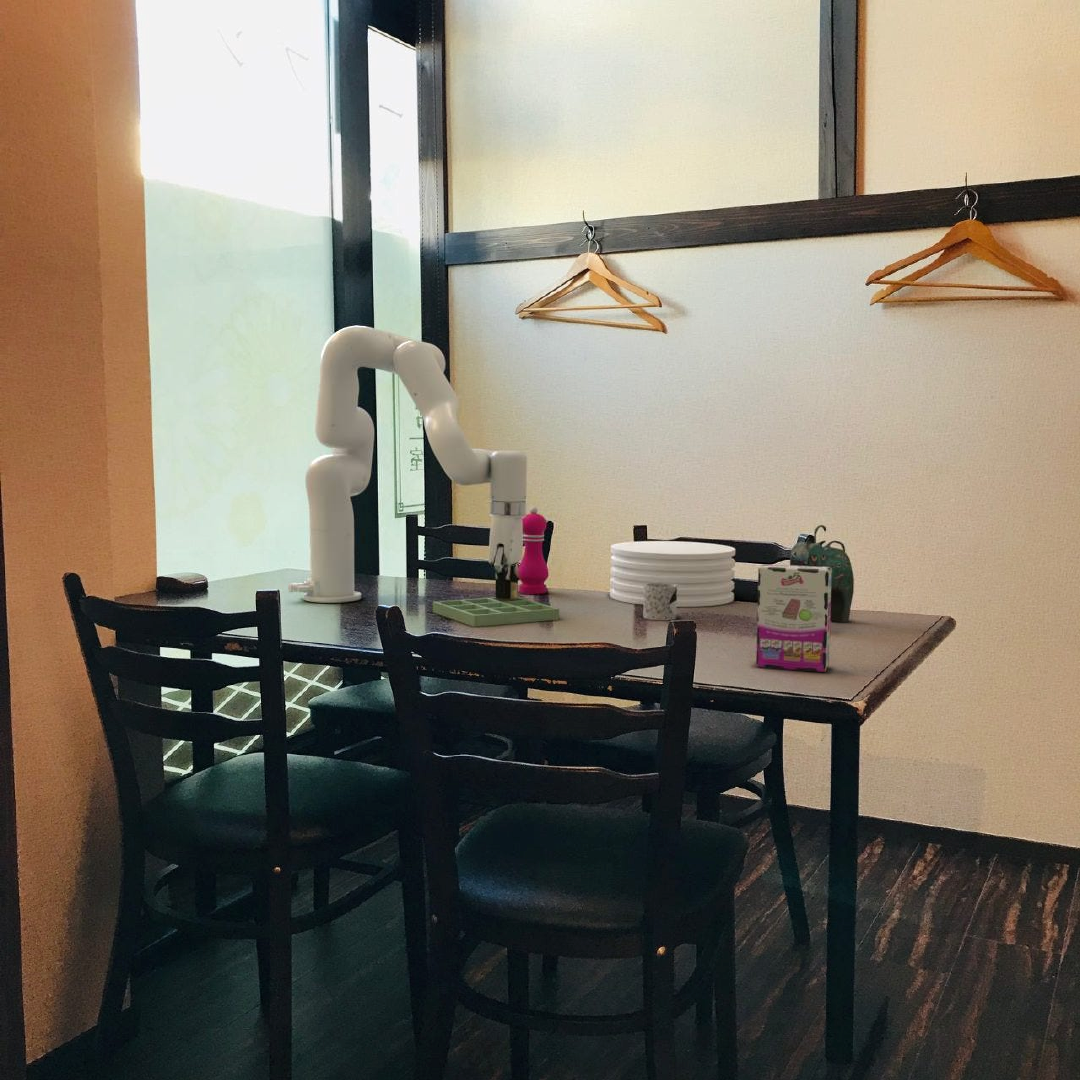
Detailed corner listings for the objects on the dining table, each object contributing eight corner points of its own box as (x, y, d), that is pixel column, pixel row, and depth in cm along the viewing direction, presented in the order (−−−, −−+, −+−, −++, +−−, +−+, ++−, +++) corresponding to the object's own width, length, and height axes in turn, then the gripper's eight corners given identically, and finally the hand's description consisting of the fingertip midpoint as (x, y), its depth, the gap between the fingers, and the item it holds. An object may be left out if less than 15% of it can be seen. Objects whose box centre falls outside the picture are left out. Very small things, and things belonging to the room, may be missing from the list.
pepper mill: (549, 590, 262) (550, 505, 260) (546, 595, 255) (547, 507, 253) (519, 589, 263) (520, 505, 261) (515, 594, 256) (516, 507, 254)
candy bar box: (829, 667, 180) (833, 566, 178) (825, 673, 175) (829, 569, 174) (760, 661, 184) (763, 562, 182) (754, 667, 179) (757, 566, 178)
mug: (677, 620, 223) (678, 587, 222) (643, 619, 223) (644, 587, 222) (673, 612, 233) (674, 581, 232) (641, 611, 233) (642, 580, 232)
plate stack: (590, 591, 262) (590, 542, 261) (694, 586, 272) (695, 539, 271) (644, 609, 236) (646, 555, 235) (758, 603, 246) (759, 551, 245)
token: (502, 599, 231) (502, 585, 231) (492, 596, 235) (492, 582, 234) (521, 598, 233) (521, 584, 233) (510, 595, 237) (511, 581, 237)
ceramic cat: (808, 634, 210) (812, 528, 208) (778, 629, 214) (782, 525, 212) (858, 621, 224) (862, 522, 222) (829, 617, 228) (833, 520, 226)
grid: (474, 626, 213) (474, 615, 213) (432, 612, 229) (432, 601, 229) (559, 619, 222) (559, 608, 222) (513, 606, 239) (513, 595, 238)
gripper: (502, 506, 241) (501, 590, 243) (478, 511, 225) (477, 601, 227) (536, 507, 239) (534, 592, 241) (513, 513, 223) (512, 603, 225)
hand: (506, 595), depth 234 cm, fingers closed on token, 4 cm apart
